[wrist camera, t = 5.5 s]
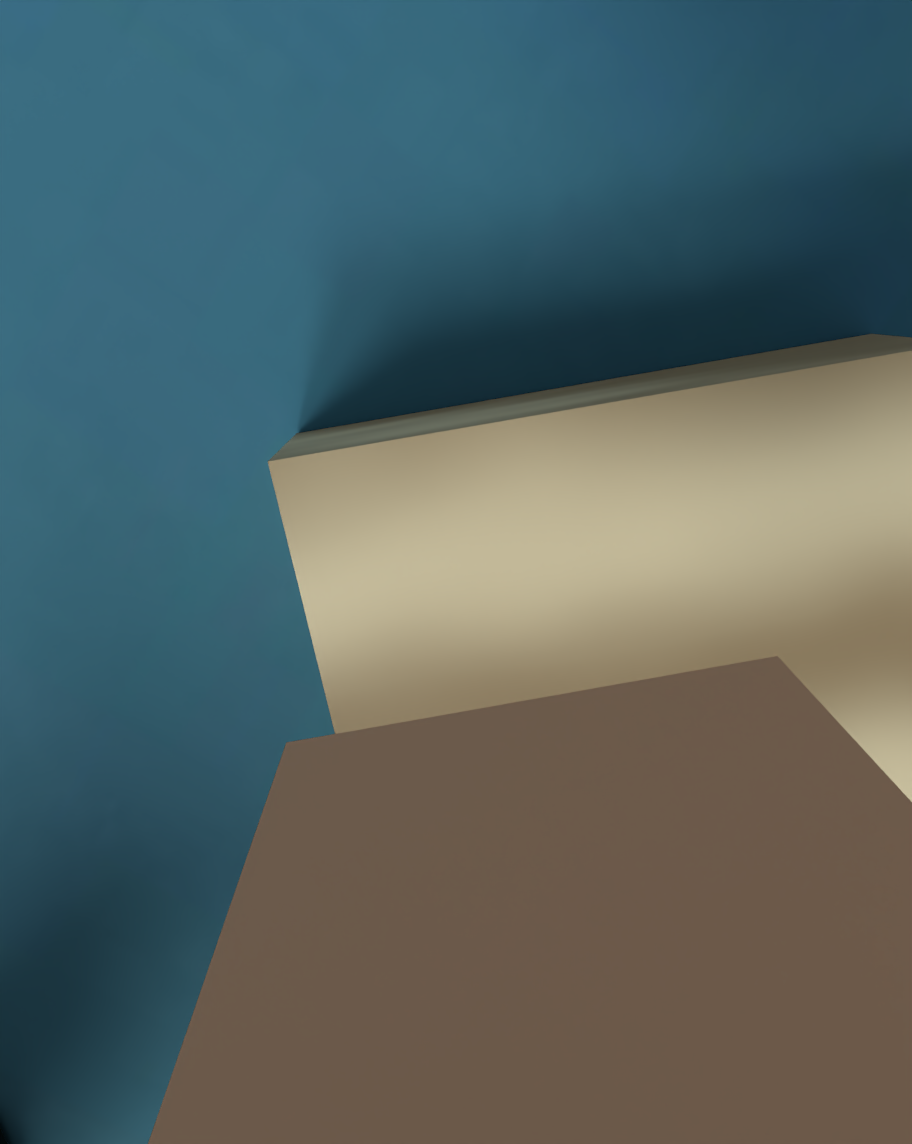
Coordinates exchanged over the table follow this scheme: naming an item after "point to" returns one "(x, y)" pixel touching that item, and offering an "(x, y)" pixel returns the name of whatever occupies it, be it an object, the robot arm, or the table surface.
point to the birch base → (620, 540)
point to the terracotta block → (567, 931)
